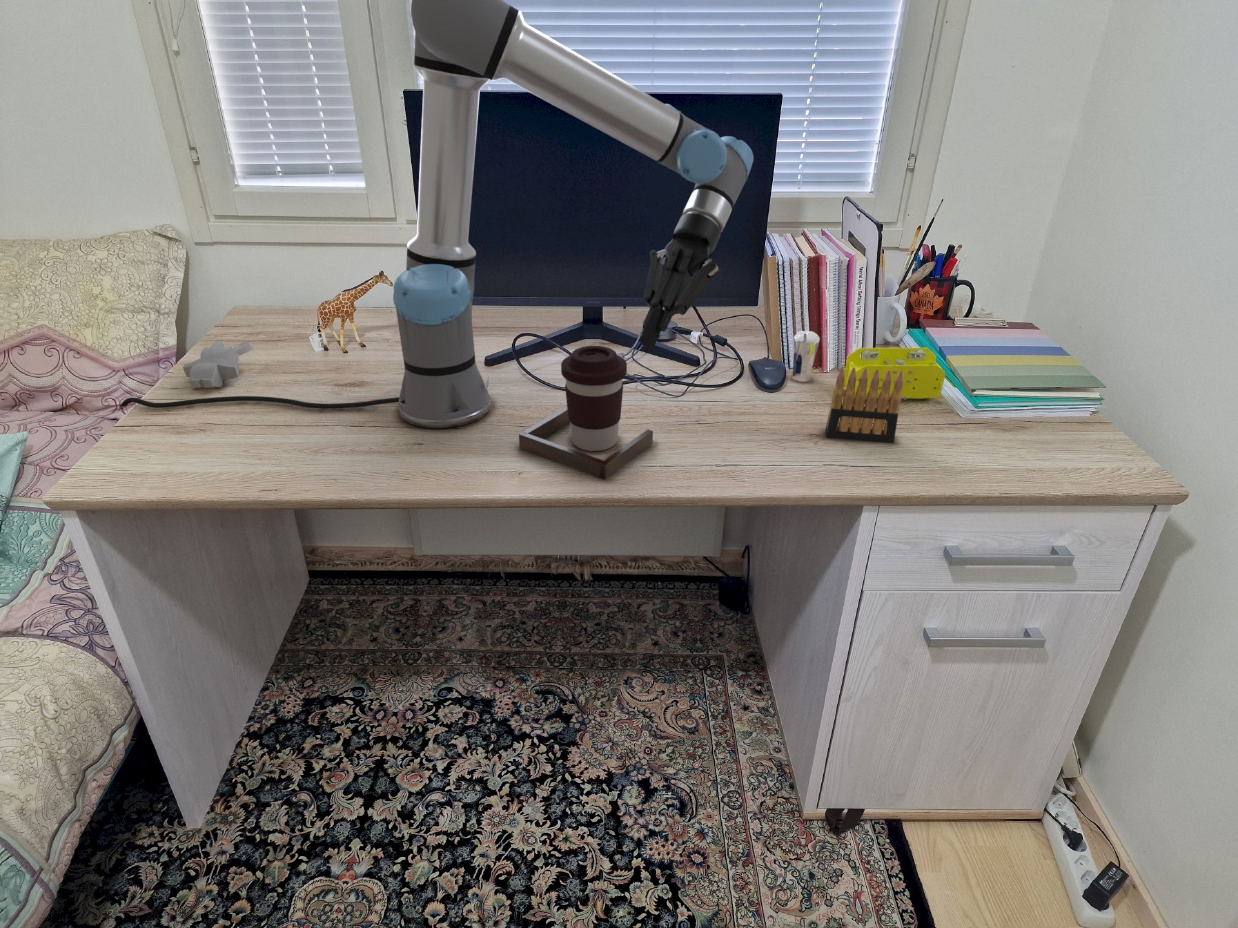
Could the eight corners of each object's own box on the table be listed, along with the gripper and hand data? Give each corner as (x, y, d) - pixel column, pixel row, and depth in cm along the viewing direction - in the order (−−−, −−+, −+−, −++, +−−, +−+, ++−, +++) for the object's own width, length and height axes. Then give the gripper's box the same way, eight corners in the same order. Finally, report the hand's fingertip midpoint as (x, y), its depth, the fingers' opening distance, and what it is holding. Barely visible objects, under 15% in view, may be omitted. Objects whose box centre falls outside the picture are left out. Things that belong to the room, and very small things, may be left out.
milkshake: (785, 382, 141) (792, 332, 136) (791, 372, 146) (798, 322, 141) (810, 387, 140) (818, 335, 135) (815, 376, 144) (823, 325, 139)
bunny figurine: (169, 372, 133) (204, 332, 145) (179, 397, 137) (212, 356, 149) (224, 372, 134) (254, 332, 146) (232, 396, 137) (261, 356, 149)
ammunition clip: (825, 437, 123) (836, 368, 117) (824, 431, 125) (835, 364, 119) (893, 443, 122) (908, 373, 116) (892, 437, 123) (907, 369, 117)
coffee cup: (621, 459, 117) (622, 368, 109) (557, 454, 118) (554, 364, 110) (629, 429, 125) (630, 343, 117) (570, 424, 126) (568, 339, 119)
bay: (570, 417, 128) (569, 404, 127) (652, 444, 121) (653, 430, 119) (519, 448, 119) (518, 434, 118) (605, 479, 111) (605, 465, 110)
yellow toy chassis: (927, 389, 139) (937, 346, 135) (939, 403, 135) (949, 359, 130) (840, 389, 139) (847, 347, 135) (849, 403, 134) (857, 359, 130)
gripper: (741, 242, 130) (686, 364, 126) (675, 231, 136) (622, 347, 133) (729, 216, 123) (672, 343, 120) (661, 206, 130) (604, 326, 126)
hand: (645, 345), depth 126 cm, fingers closed
